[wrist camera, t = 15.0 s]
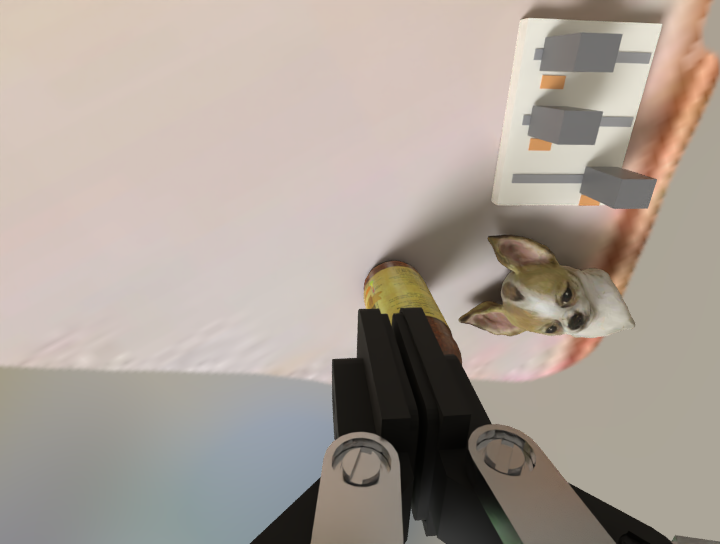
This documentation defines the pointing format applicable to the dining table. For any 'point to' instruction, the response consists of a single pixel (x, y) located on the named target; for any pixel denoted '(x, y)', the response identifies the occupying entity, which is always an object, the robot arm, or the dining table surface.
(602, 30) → the switch panel
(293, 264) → the dining table surface
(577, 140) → the slider
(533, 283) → the ceramic sculpture
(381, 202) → the dining table surface
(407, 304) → the sauce bottle
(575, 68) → the slider
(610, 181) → the slider
